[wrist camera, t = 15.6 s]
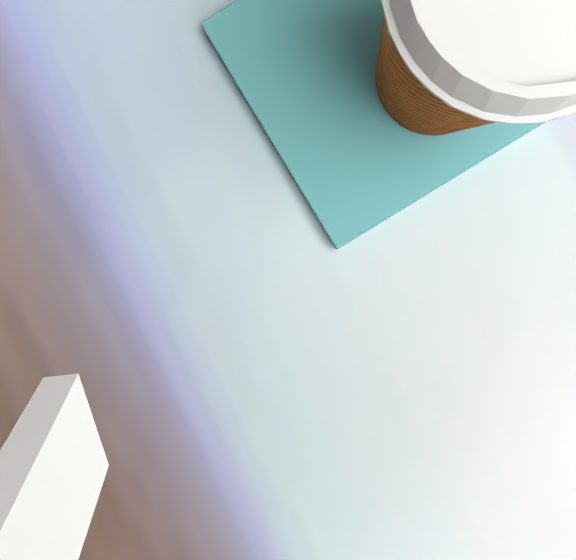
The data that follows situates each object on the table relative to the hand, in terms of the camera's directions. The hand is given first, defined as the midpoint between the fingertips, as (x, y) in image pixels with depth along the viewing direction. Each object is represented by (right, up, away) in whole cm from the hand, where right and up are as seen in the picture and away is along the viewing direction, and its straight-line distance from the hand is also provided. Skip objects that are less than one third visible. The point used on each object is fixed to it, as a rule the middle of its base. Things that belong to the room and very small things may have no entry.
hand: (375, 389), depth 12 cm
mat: (+3, +14, +17) cm, 22 cm away
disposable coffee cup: (+6, +13, +16) cm, 22 cm away
